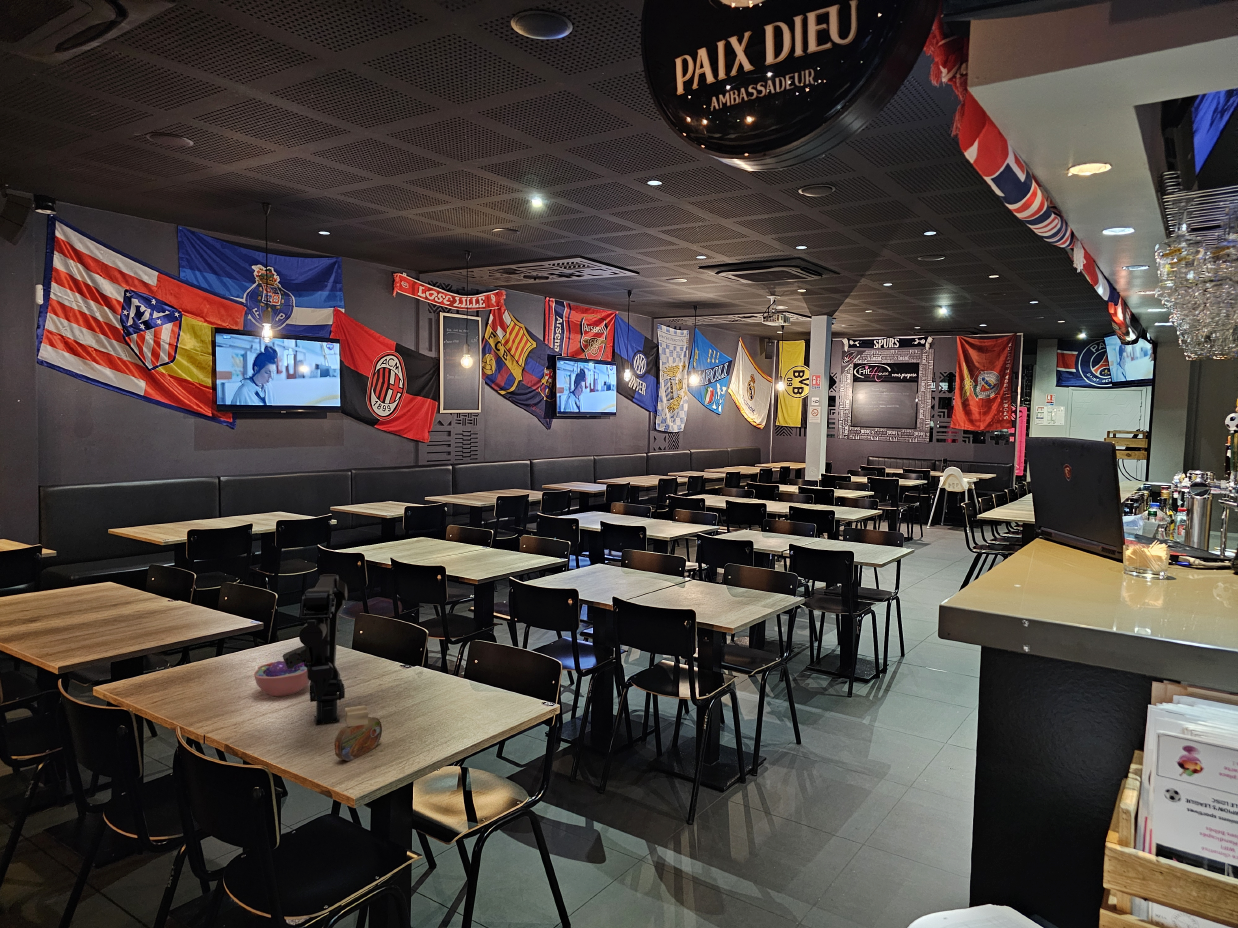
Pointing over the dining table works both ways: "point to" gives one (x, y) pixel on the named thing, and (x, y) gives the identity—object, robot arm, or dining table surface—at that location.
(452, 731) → the dining table surface
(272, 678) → the cell model
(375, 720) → the tin
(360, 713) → the oak block
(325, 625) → the robot arm
